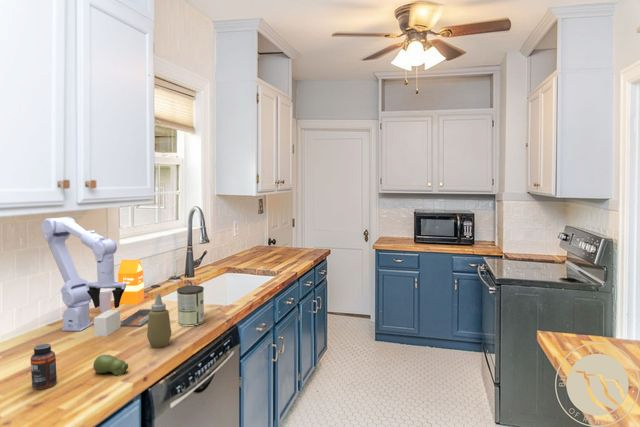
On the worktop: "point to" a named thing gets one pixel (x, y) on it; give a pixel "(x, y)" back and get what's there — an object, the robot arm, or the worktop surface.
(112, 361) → the green lumpy rounded piece
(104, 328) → the white rectangular block
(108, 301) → the smoothie
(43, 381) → the supplement bottle
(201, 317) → the coffee can
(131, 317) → the dark grey tray
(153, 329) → the squeeze bottle
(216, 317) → the worktop surface
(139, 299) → the orange juice
